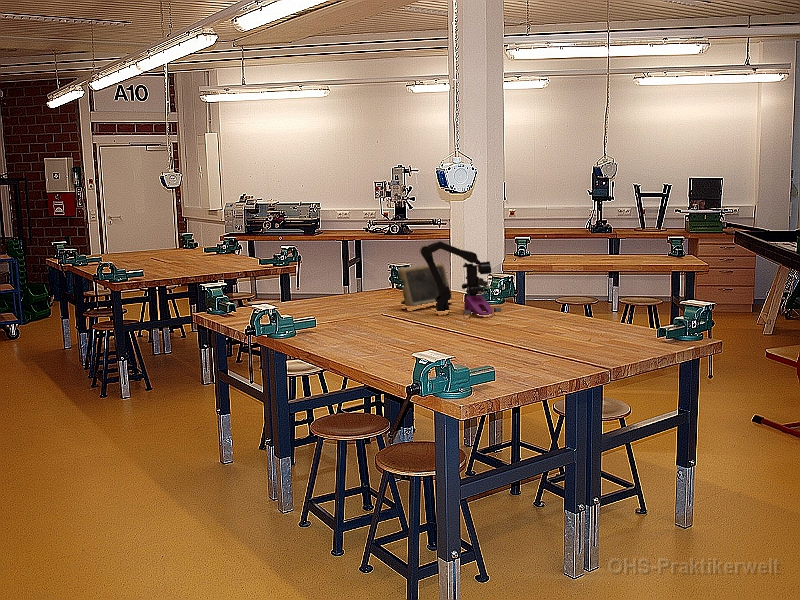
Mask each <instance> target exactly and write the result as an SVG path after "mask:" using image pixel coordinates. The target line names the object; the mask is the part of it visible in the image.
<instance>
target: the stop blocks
mask: <svg viewBox="0 0 800 600" xmlns="http://www.w3.org/2000/svg"><path fill="white" fill-rule="evenodd" d="M494 312H501V313H502V307H500V306H496V307H493V313H494ZM462 313H463V314H465V315H470V314H471V311H470V310H465V309H463V312H462ZM463 314H462V315H463Z"/></svg>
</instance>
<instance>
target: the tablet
mask: <svg viewBox="0 0 800 600" xmlns="http://www.w3.org/2000/svg"><path fill="white" fill-rule="evenodd" d="M434 263H435V262H434ZM435 265H436V267H437V270H438V272H439V274H440V276H441V279H442V281H443V283H444V285H445V286H446V285H448V286H449V289H450V284H449V281H448V278H447V272H446V268H445V266H444V264H443V262H442V261H437V262H436V263H435ZM397 272H398V275H399V279H400V280H401V281H402V283H403V287H402V296H403V299H404V300H401V301H400V305H401V304H405V305H406V306H417V305H422V304H428V303H433V302H436V300H435V299H436V298H437V297H438V296H439V293H438V288H437V285H436V282H435V280H434V278H433V276H432V273H431V271H430V269H429V267H428V264H427V263H426V264H424V265H417V266H416V265H415V266H407V267H404V266H401V267H399V268H398V270H397ZM450 290H451V289H450ZM450 299H452V300H453V297H452V296H451V298H450Z"/></svg>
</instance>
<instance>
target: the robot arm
mask: <svg viewBox="0 0 800 600" xmlns="http://www.w3.org/2000/svg"><path fill="white" fill-rule="evenodd" d="M418 250H419V254H420V256H421V257H422V258H423V261H424V262H425V263H426V265H427V264H428V267H429V269H430V271H431V273H432V276H433V278H434V280H435V282H436V285H437V288H438V293H439V296H438V297H437V298H436V299H435V300H436V302H437V303H436V306H435V311H436V310H437V311H445V310H449V311H450V305H449V304H448V300H450V298H451V297H452V291H451V289H449V288H450V285H449V286H448V285H446V286H445V285H444V283H443V281H442V279H441V276H440V274H439V272H438V270H437V267H436V265H435V260H434V256H433V254H434V253H435V252H437V251H438V250H444V251H445V252H448V253H451V254H453V255H455V256H458V257H460V258H462V259H464V261H466V262H464V264H463V265H462V267H463V268H466V276H465V280H466V283H462V285H461V289H463V290H465V289H466V290H465V293H466V294H467V297H469V296H478V293H482V292H484V291H485V290H484V288H487V287H488V284H489V282H488V281H485V280H484V278H482V277H479V276H478V273H479V274H480V275H490V274H492V266H491V262H490V260H489V261H488V260H487V261H480V260H479V259H478V255H477V253H475V252H473V251H471V250H470V251H469V250H465V249H460V248H458V247H456V246H454V245H451V244H448V243H445V242H443V241H442V240H438V241H436V242H433V243H430V244H428V245H426V244H425V245H422V246H420V248H419V249H418ZM467 262H468V263H467Z"/></svg>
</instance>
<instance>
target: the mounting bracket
mask: <svg viewBox="0 0 800 600" xmlns="http://www.w3.org/2000/svg"><path fill="white" fill-rule="evenodd" d="M463 310H470V311H471V312H474V314H475V315H476V314H479V315H489V314H492V313H493V314H494V308H492V306H491V305H490V304H489V303H488V301H487V300H486V299H485V298H484V295H482V294H480V295H478V294H477V295H476V296H465V301H464V309H463ZM483 311H486V312H483ZM493 314H492V315H493Z"/></svg>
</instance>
